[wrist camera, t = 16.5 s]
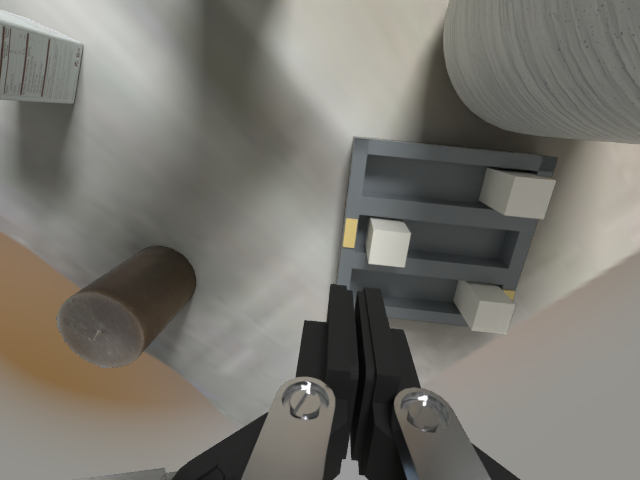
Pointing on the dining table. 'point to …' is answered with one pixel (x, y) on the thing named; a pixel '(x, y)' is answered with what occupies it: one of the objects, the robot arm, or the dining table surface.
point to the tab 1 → (484, 306)
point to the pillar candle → (127, 307)
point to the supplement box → (37, 62)
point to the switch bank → (433, 224)
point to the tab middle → (387, 241)
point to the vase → (548, 65)
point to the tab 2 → (516, 193)
